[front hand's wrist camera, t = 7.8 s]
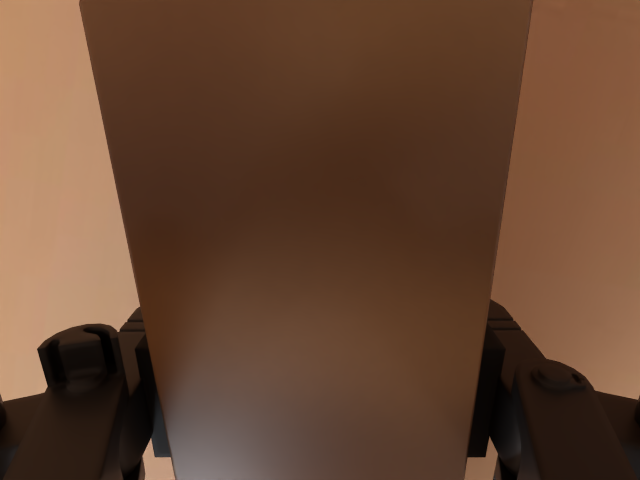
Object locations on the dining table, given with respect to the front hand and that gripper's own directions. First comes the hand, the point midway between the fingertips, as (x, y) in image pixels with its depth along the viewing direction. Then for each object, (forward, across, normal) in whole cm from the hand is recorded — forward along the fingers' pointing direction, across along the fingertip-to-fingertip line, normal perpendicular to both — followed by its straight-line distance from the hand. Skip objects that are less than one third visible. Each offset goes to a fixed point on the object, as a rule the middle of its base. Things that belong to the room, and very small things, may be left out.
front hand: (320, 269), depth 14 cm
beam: (+1, 0, -18) cm, 18 cm away
